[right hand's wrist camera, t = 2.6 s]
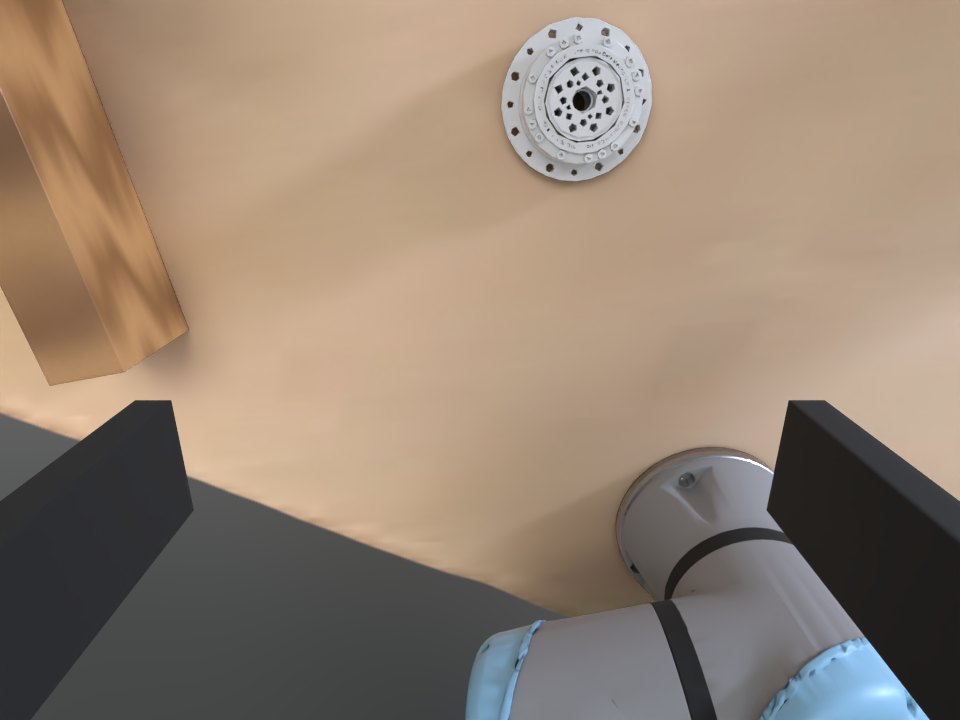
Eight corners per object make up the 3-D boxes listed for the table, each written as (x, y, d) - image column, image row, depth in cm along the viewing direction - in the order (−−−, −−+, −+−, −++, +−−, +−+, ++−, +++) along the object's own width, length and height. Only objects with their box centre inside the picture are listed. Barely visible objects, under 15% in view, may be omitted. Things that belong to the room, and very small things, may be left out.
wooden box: (189, 329, 46) (124, 372, 38) (127, 341, 46) (49, 386, 38) (19, -110, 36) (-121, -186, 27) (-59, -92, 36) (-220, -161, 28)
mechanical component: (618, -8, 38) (477, 62, 39) (635, -26, 33) (477, 53, 35) (665, 143, 41) (533, 202, 42) (685, 144, 37) (539, 209, 38)
